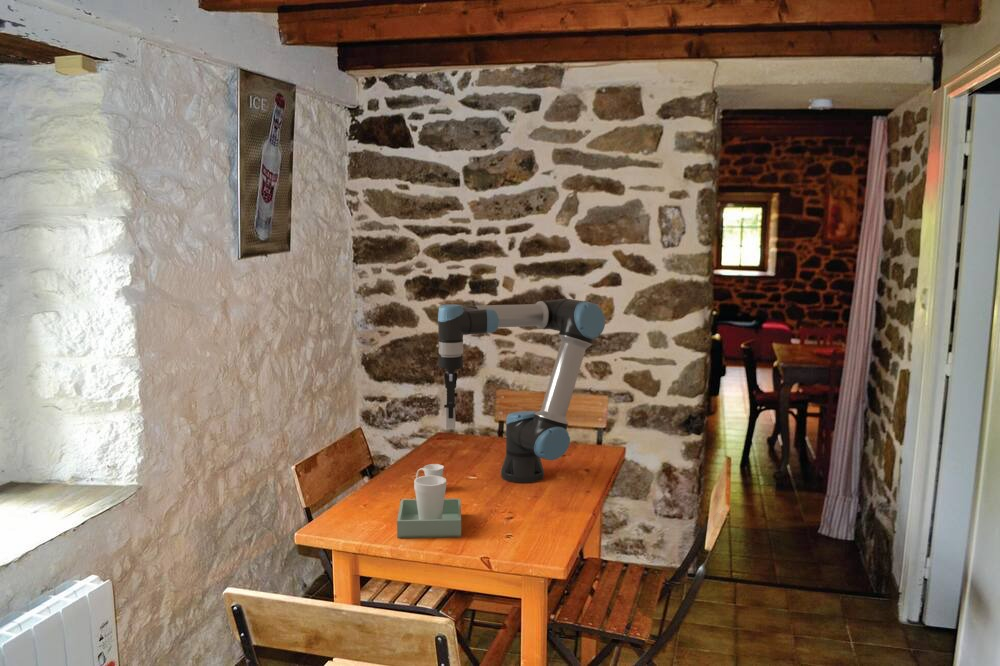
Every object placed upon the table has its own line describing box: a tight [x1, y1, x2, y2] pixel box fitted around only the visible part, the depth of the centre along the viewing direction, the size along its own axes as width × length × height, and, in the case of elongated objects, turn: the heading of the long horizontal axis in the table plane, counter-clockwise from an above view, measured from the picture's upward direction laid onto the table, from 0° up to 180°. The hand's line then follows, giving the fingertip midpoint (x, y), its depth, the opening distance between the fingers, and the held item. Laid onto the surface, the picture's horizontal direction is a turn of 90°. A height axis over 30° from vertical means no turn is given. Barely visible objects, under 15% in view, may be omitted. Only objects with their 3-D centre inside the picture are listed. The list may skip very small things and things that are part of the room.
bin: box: [396, 498, 462, 539], centre depth 236 cm, size 18×18×5 cm
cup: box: [415, 463, 445, 479], centre depth 267 cm, size 7×10×8 cm
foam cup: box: [413, 475, 447, 520], centre depth 236 cm, size 10×9×13 cm
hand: (450, 422), depth 250 cm, fingers open, 13 cm apart
